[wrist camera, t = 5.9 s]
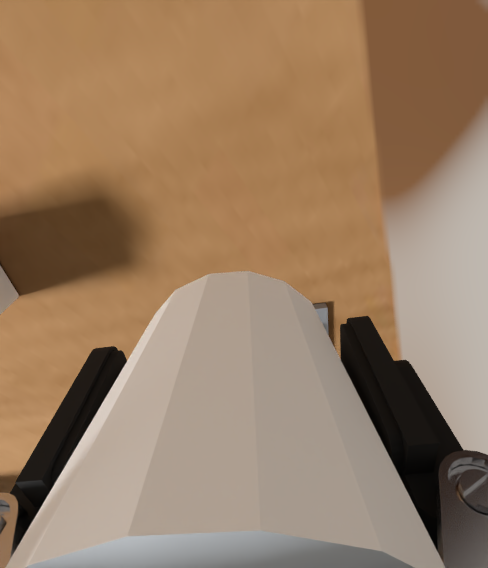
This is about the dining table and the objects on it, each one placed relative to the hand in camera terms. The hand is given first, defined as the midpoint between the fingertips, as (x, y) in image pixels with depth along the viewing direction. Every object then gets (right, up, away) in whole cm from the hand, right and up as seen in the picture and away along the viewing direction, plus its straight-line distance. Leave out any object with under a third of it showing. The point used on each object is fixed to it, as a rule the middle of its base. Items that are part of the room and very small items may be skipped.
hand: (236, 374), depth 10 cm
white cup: (0, +1, +1) cm, 1 cm away
